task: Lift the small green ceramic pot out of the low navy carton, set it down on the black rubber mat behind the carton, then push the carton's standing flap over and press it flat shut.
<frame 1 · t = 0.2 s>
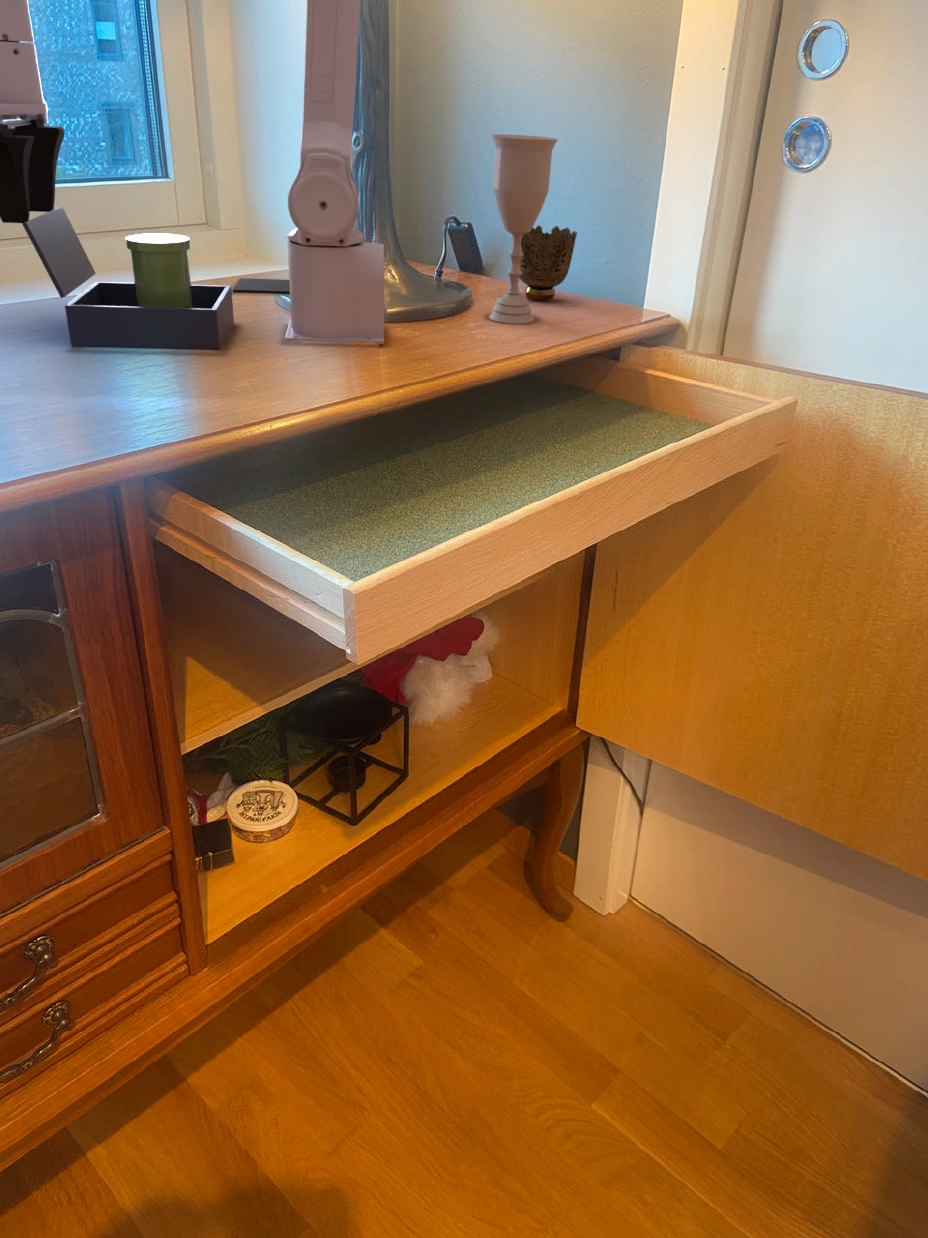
hand: (29, 216, 84), 10 cm above the table, tool pointing down, fingers open, 7 cm apart
mat: (266, 288, 111), on the table
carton: (158, 338, 88), on the table
chalice: (511, 319, 103), on the table
pot: (168, 333, 88), resting on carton
flap: (61, 250, 84), point 8 cm above the table, hinge at 110.0°
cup: (539, 300, 113), on the table
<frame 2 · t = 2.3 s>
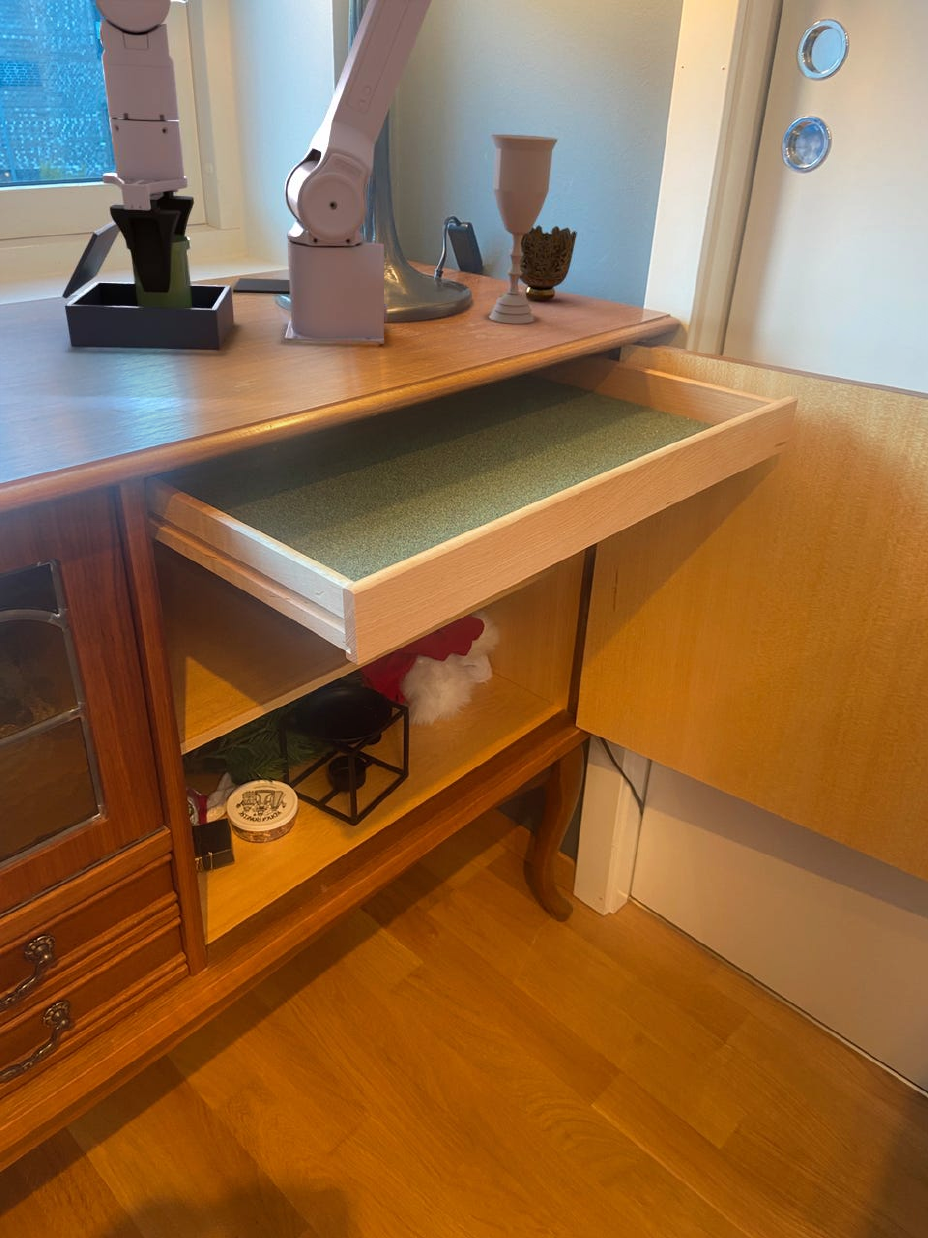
hand: (162, 285, 86), 5 cm above the table, tool pointing down, fingers closed on pot, 5 cm apart
pot: (168, 333, 88), point 1 cm above the table, touching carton, gripper
flap: (95, 255, 84), point 7 cm above the table, hinge at 56.9°
everything else where it was.
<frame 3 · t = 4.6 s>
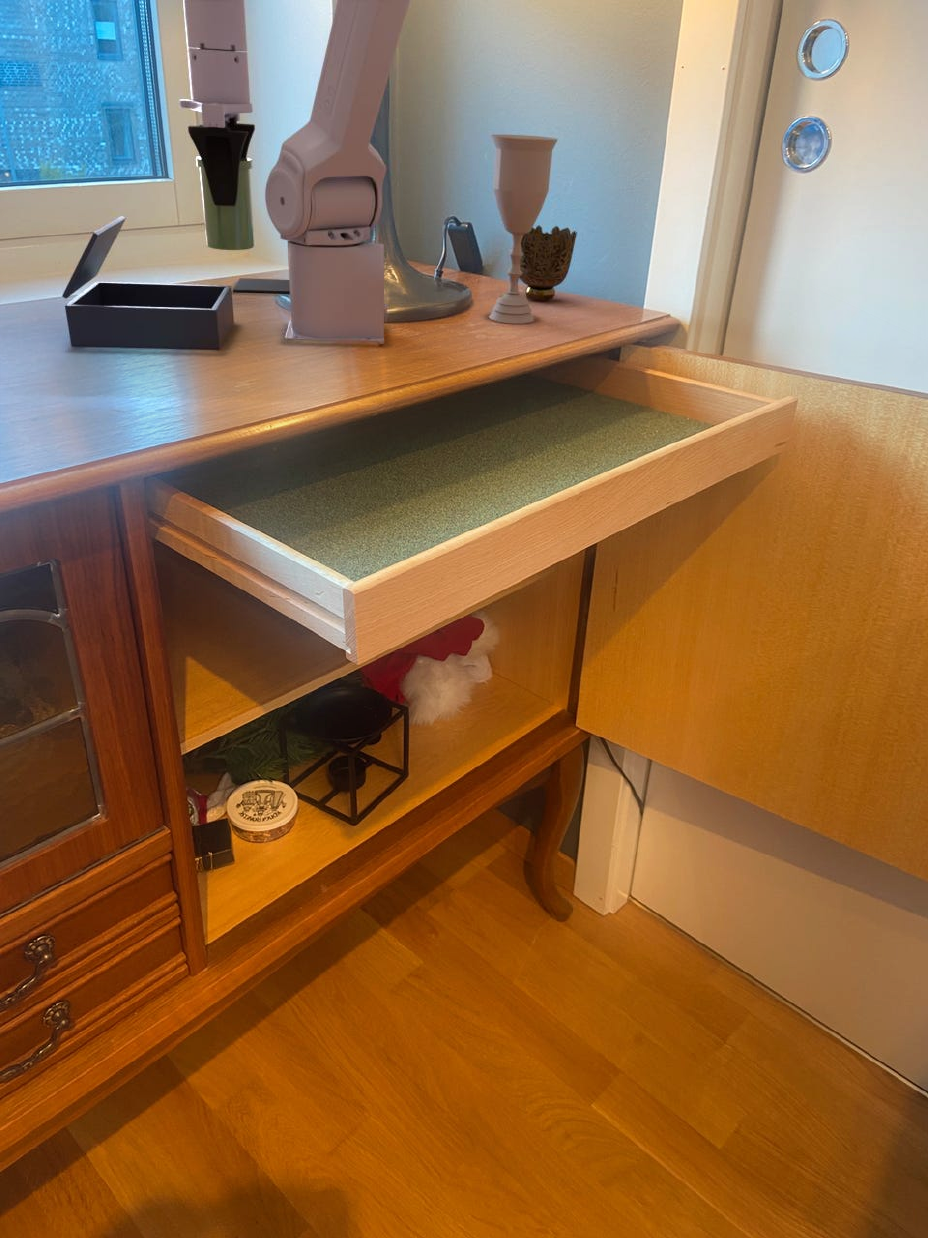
hand: (228, 201, 97), 10 cm above the table, tool pointing down, fingers closed on pot, 5 cm apart
pot: (230, 246, 100), point 6 cm above the table, touching gripper
everything else where it was.
when the fingers open (5 cm above the table, at t = 7.2 s): pot stays where it is, resting on mat.
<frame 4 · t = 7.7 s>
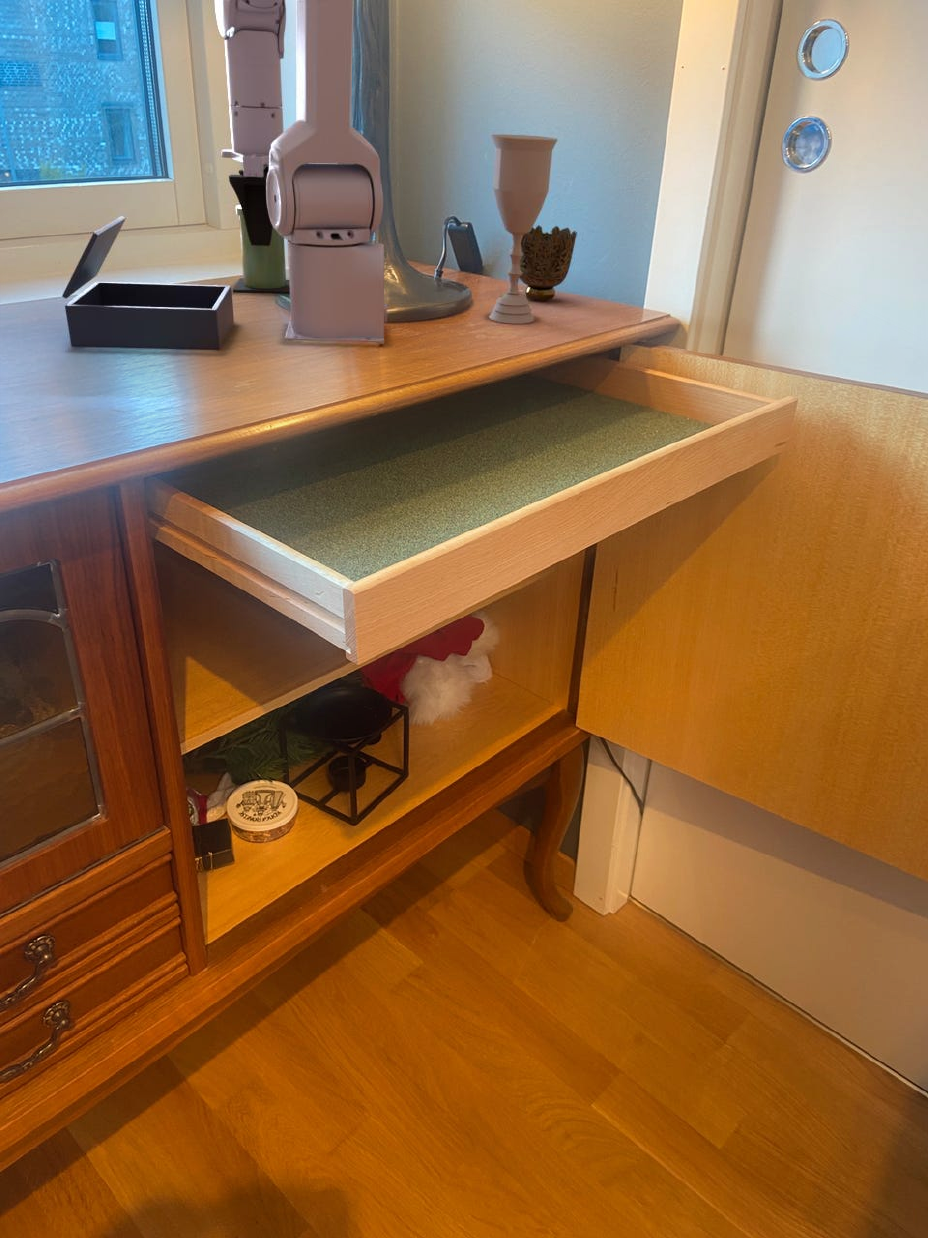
hand: (263, 239, 108), 5 cm above the table, tool pointing down, fingers open, 7 cm apart
pot: (265, 284, 110), resting on mat
everything else where it was.
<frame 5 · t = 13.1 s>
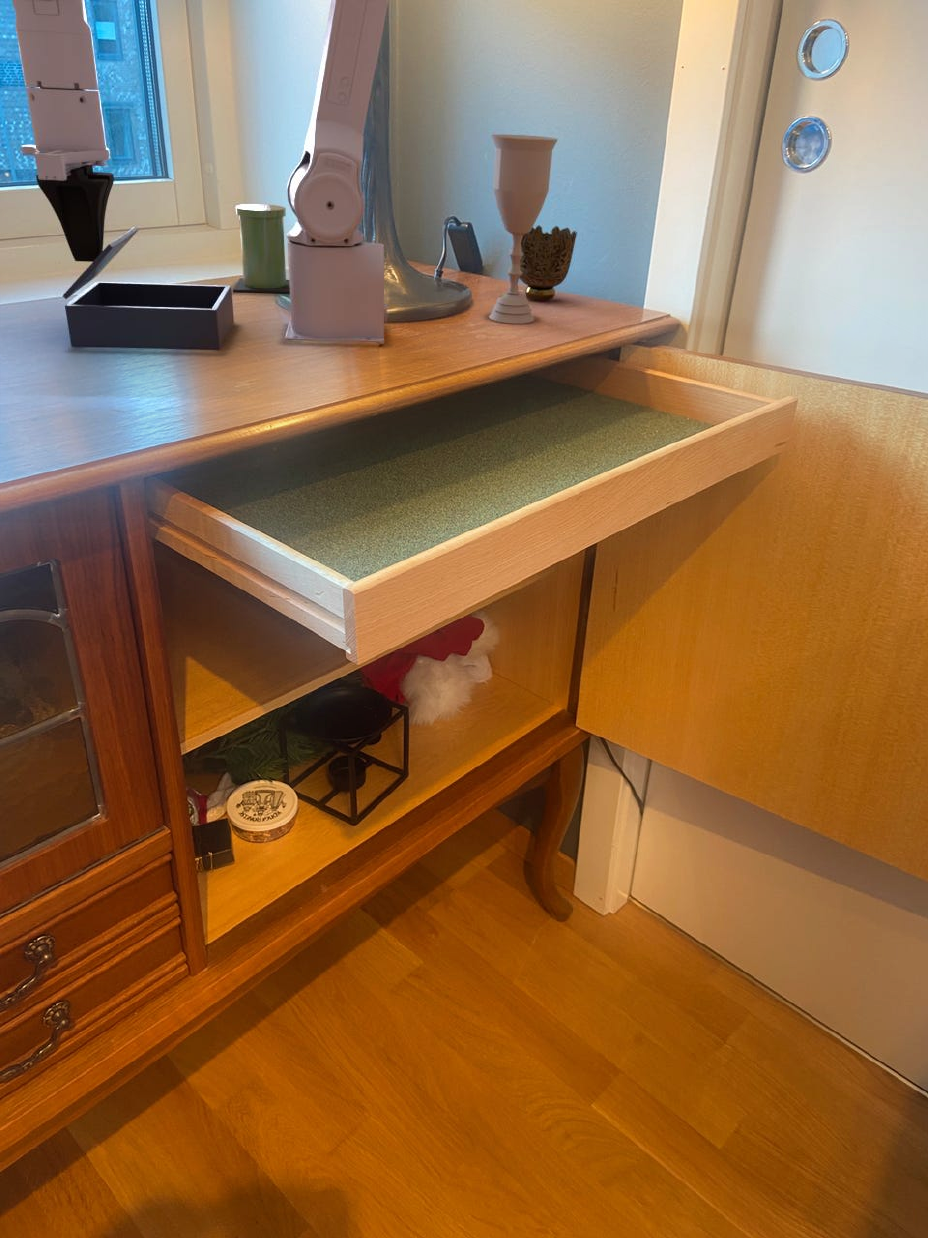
hand: (88, 260, 84), 7 cm above the table, tool pointing down, fingers closed, pressing on flap
flap: (102, 261, 84), point 7 cm above the table, hinge at 43.8°, touching gripper
everything else where it was.
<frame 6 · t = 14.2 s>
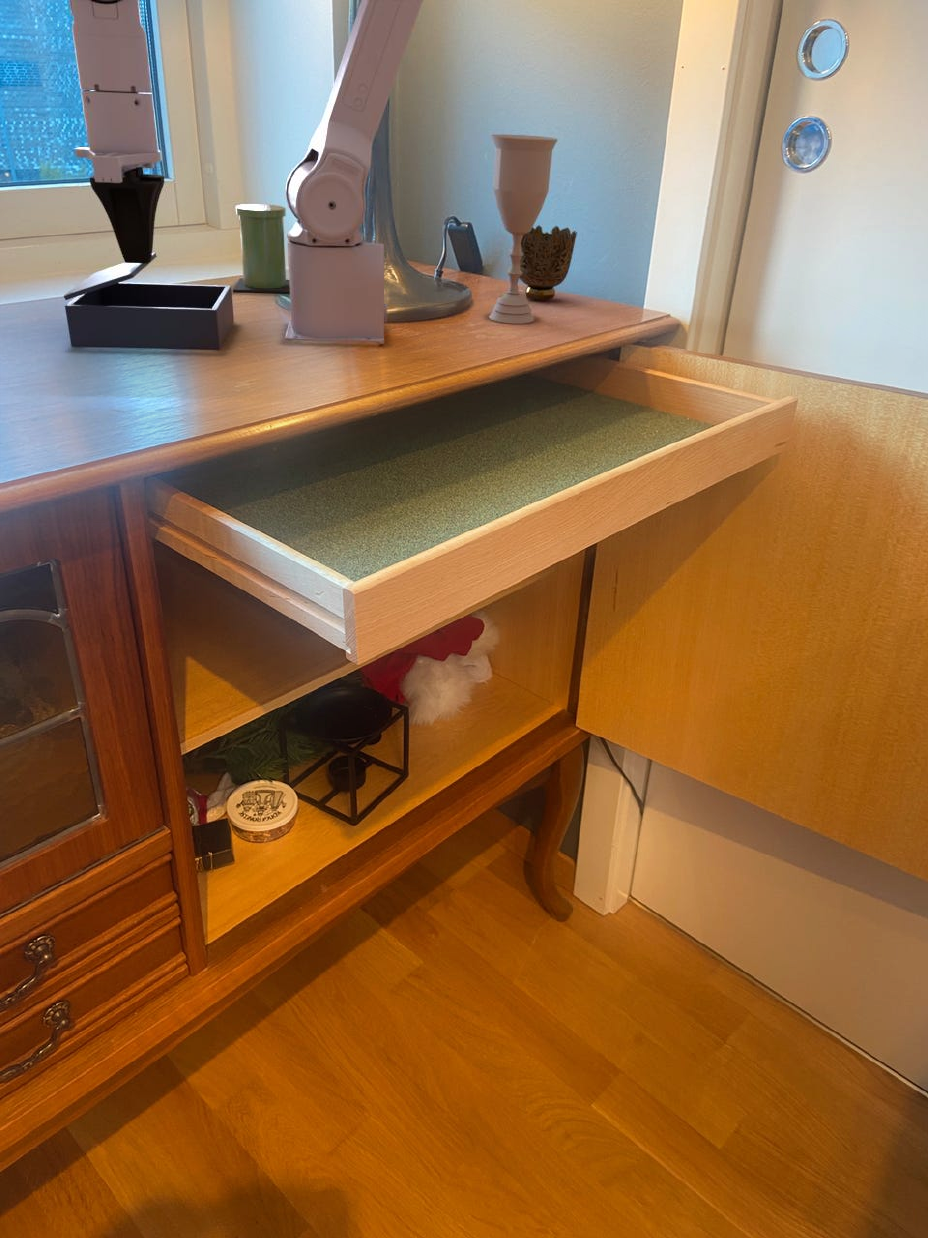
hand: (138, 261, 85), 7 cm above the table, tool pointing down, fingers closed
flap: (112, 275, 85), point 6 cm above the table, hinge at 19.0°
everything else where it was.
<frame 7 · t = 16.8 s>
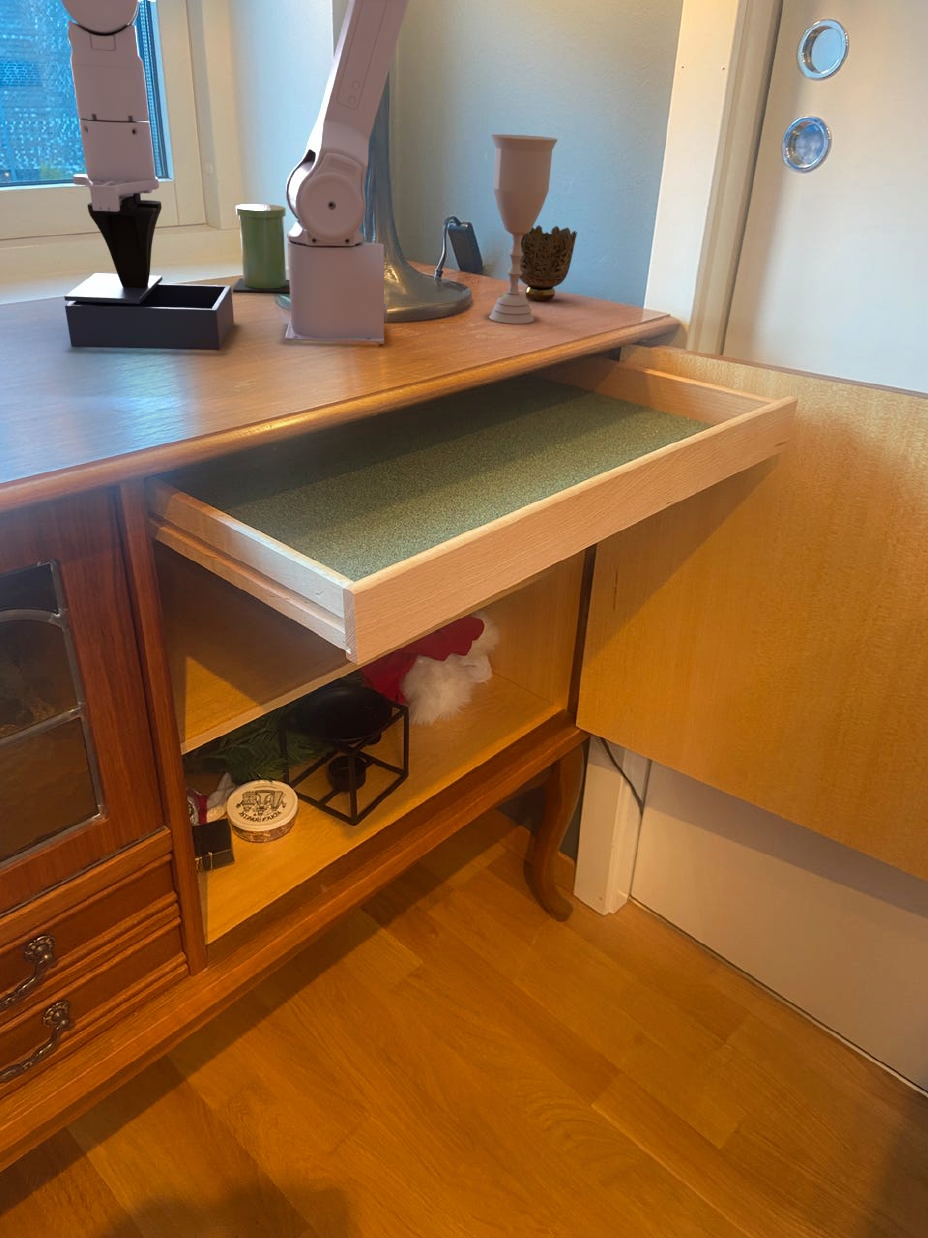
hand: (135, 286, 86), 5 cm above the table, tool pointing down, fingers closed, pressing on flap
flap: (116, 287, 86), point 5 cm above the table, hinge at -0.6°, touching gripper
everything else where it was.
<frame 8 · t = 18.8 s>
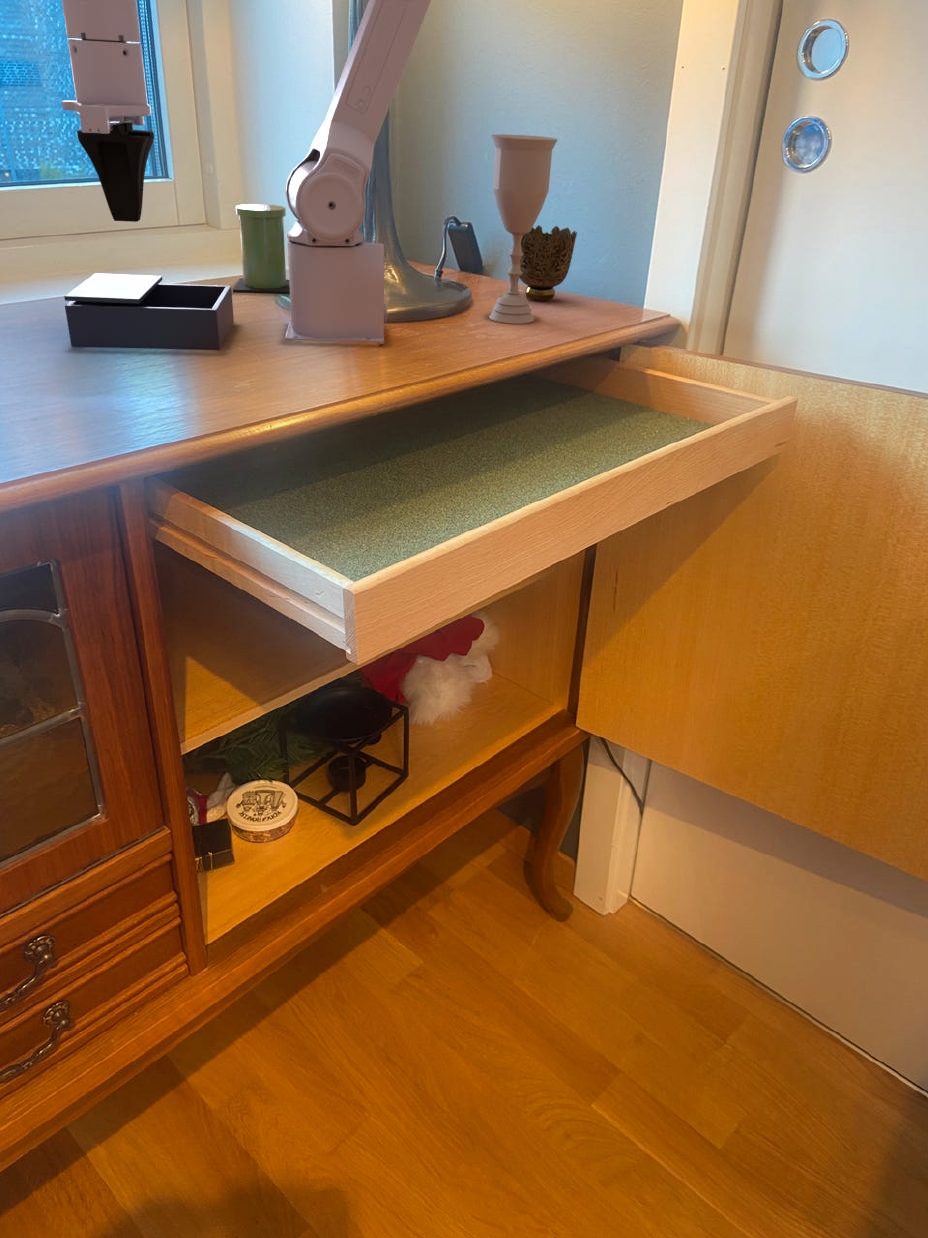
hand: (127, 220, 83), 10 cm above the table, tool pointing down, fingers closed
flap: (116, 287, 86), point 5 cm above the table, hinge at -0.6°
everything else where it was.
at the end: pot 0.1 cm off-centre on the mat, point 0.5 cm above the mat's base; pot tilted 0°; flap at -1° (first picture: +110°) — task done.
